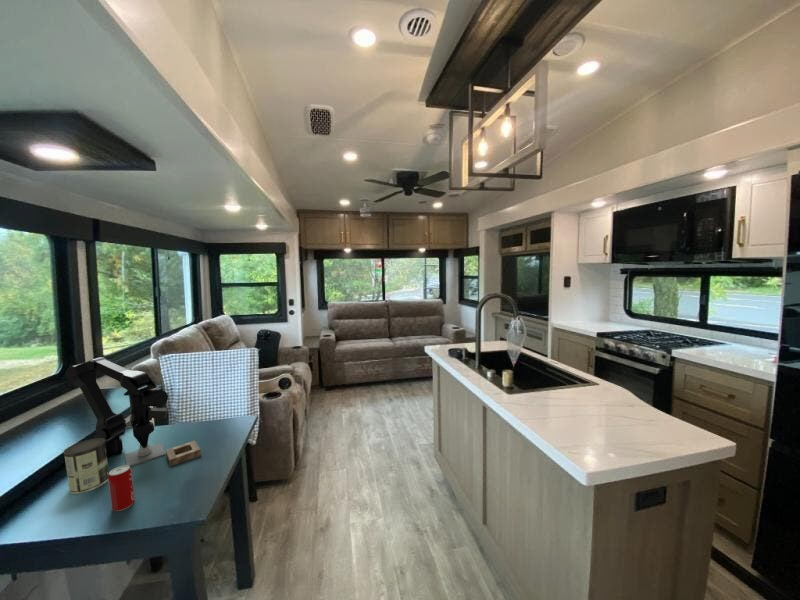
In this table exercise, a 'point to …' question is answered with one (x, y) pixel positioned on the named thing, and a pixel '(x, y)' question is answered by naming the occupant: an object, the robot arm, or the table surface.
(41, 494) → the table surface
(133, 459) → the grey mat
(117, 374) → the robot arm
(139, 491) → the table surface
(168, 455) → the brown wooden frame
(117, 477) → the soda can
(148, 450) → the rook chess piece
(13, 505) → the table surface
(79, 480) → the coffee can
